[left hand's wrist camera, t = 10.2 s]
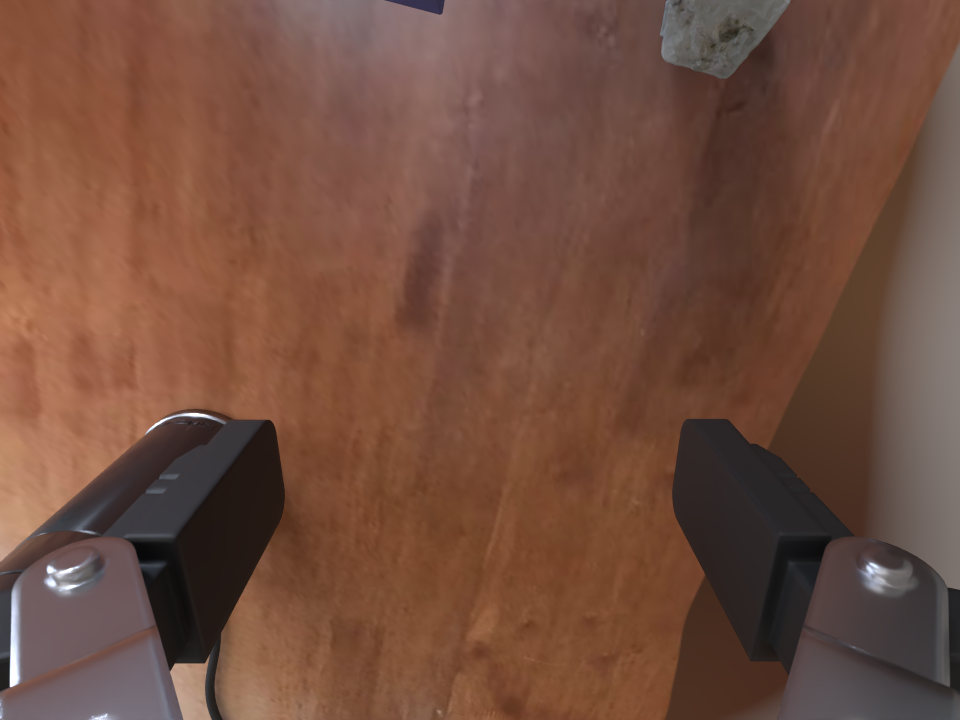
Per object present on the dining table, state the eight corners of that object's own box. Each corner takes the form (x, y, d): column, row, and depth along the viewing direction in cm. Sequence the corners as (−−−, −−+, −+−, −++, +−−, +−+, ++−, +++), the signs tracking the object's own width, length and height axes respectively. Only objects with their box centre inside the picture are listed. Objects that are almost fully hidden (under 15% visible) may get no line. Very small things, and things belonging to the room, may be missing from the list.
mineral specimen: (625, -71, 31) (710, -136, 24) (755, -30, 33) (870, -78, 26) (593, 75, 33) (663, 57, 26) (717, 104, 36) (813, 95, 28)
